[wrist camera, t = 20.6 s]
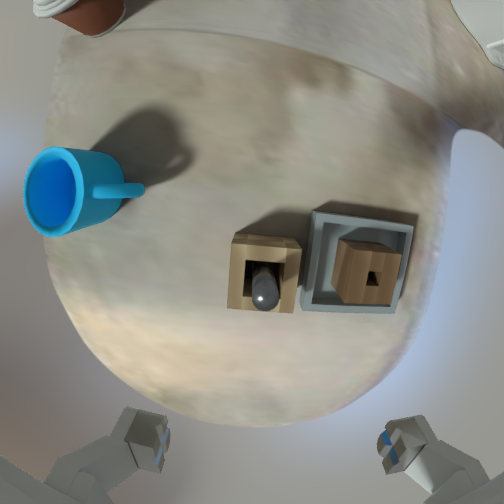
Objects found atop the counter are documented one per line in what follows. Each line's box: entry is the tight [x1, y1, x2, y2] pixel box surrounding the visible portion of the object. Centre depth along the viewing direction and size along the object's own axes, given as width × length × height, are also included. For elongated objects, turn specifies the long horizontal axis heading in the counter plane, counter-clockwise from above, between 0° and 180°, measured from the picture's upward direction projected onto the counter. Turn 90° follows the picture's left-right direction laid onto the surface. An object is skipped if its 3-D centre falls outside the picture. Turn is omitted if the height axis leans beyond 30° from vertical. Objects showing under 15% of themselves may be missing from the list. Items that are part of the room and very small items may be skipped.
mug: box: [23, 147, 145, 237], centre depth 24 cm, size 12×8×8 cm
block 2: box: [331, 238, 402, 305], centre depth 26 cm, size 5×5×5 cm
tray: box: [299, 211, 414, 314], centre depth 28 cm, size 11×10×2 cm
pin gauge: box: [252, 260, 279, 311], centre depth 25 cm, size 2×2×9 cm
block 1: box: [227, 233, 302, 313], centre depth 27 cm, size 6×6×5 cm
